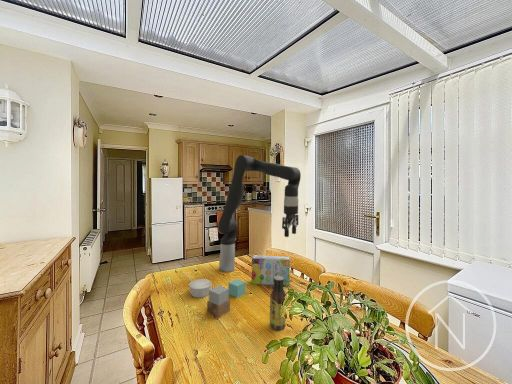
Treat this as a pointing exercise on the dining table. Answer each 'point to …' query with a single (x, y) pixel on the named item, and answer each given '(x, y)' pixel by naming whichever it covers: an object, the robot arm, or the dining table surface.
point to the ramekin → (200, 287)
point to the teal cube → (236, 288)
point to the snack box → (270, 269)
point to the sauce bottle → (277, 304)
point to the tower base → (218, 308)
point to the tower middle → (218, 295)
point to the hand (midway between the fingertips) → (290, 235)
